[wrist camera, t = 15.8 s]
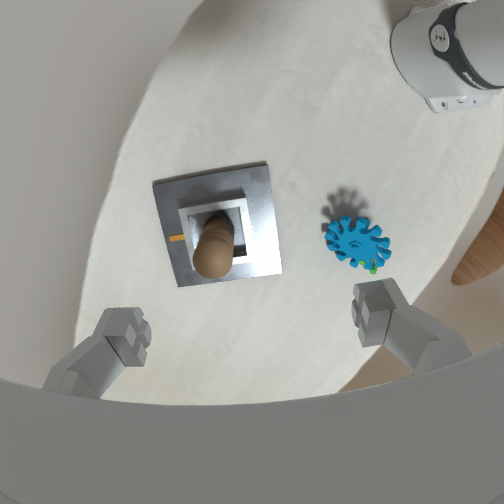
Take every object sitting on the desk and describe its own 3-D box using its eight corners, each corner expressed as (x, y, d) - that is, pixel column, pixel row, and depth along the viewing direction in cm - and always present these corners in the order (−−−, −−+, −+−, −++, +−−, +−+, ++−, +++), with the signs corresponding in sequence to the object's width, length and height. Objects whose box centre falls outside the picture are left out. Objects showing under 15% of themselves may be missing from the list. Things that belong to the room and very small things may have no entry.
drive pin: (231, 213, 40) (228, 239, 31) (237, 242, 42) (235, 276, 33) (200, 218, 40) (188, 245, 31) (206, 247, 42) (197, 281, 33)
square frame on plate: (267, 164, 39) (269, 167, 36) (280, 269, 45) (283, 279, 42) (154, 184, 39) (147, 188, 36) (179, 284, 46) (175, 293, 43)
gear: (311, 226, 41) (375, 219, 33) (326, 199, 43) (385, 190, 36) (341, 276, 46) (399, 278, 38) (353, 250, 49) (407, 248, 41)
